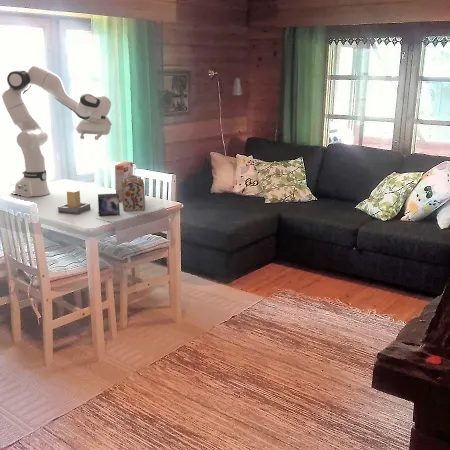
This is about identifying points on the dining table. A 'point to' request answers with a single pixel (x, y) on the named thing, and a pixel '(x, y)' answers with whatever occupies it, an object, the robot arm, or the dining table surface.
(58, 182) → the dining table surface
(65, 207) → the tray
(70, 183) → the dining table surface
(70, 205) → the tan rectangular block
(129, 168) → the cracker box
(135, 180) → the decorative jar
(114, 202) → the small box
